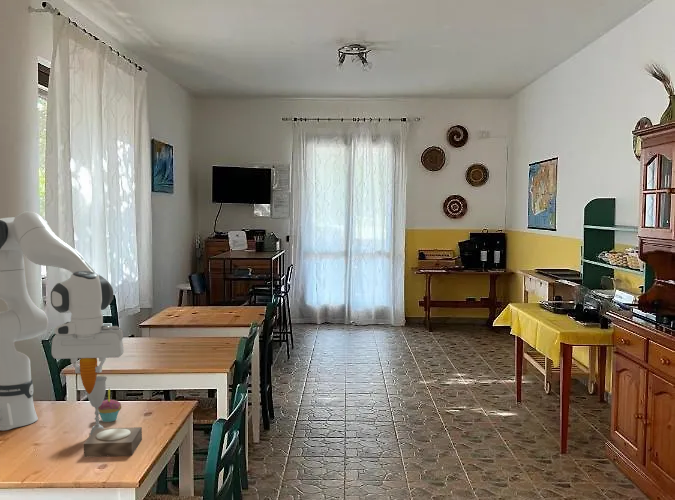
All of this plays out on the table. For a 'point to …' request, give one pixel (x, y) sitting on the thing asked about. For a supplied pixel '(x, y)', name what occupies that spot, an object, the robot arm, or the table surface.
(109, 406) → the cupcake
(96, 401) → the chalice
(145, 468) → the table surface
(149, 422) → the table surface
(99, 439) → the walnut plinth
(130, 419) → the table surface
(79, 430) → the table surface
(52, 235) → the robot arm
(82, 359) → the carrot
